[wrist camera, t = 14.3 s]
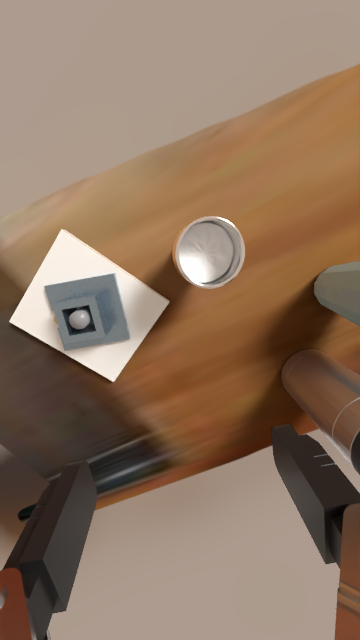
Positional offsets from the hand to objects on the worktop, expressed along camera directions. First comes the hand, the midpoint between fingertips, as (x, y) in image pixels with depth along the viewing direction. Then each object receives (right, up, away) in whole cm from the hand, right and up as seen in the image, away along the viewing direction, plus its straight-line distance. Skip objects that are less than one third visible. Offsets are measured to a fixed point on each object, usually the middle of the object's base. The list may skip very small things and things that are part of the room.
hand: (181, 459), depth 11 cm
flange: (-14, +7, +27) cm, 31 cm away
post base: (-14, +8, +28) cm, 32 cm away
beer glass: (+2, +16, +27) cm, 32 cm away
